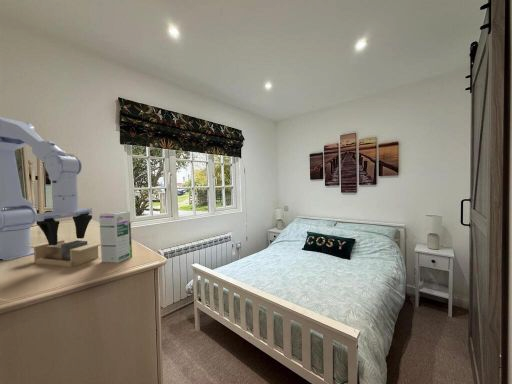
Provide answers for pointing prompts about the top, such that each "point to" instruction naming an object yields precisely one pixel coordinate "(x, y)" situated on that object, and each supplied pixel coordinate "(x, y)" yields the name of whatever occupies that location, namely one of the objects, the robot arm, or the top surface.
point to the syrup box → (115, 236)
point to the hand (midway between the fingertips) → (67, 241)
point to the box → (62, 250)
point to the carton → (76, 254)
